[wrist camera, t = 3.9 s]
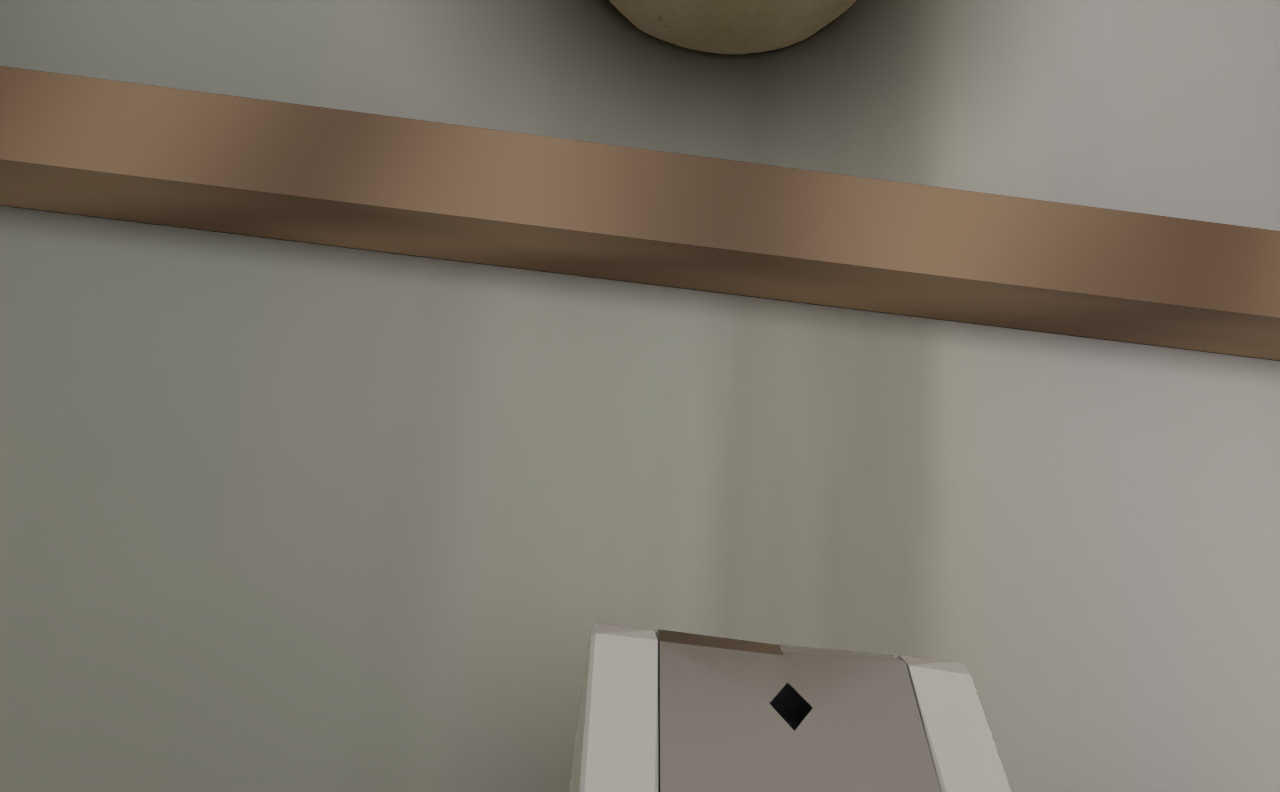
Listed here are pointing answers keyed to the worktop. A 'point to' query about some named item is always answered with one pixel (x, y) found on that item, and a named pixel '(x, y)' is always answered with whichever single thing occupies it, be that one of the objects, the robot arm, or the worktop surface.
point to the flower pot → (731, 22)
